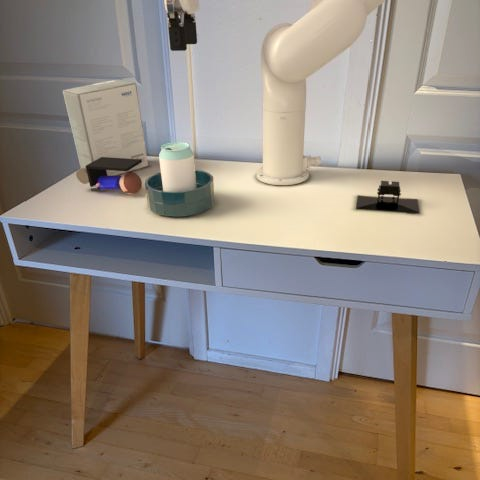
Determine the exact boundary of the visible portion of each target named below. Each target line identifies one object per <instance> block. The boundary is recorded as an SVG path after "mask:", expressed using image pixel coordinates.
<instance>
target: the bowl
mask: <svg viewBox="0 0 480 480" xmlns="http://www.w3.org/2000/svg"><path fill="white" fill-rule="evenodd" d="M195 175H196V187H197V189H193V190H188V191H178V192H170V191H163V185H162V177H161V171H159V172H156V173H153V174H152V175H150V176H148V177H147V178H146V179H145V181H144V188H145V195H146V203H147V207H148V208H149V210H150V211H151V212H153V213H155V214H157V215H161V216H166V217H188V216H193V215H198V214H200V213H203V212H206V211H208V210H209V209H211V208H212V207H213V206H214V205H215V202H216V201H215V200H216V199H215V183H214V176H213V175H212V173H210V172H208V171H205V170H201V169H198V168H197V169H196V168H195Z"/></svg>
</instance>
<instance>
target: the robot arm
mask: <svg viewBox="0 0 480 480" xmlns="http://www.w3.org/2000/svg"><path fill="white" fill-rule="evenodd" d="M384 2H386V0H312V1H311V3H310V5H309V7H308V9H307V13H306V14H304V15H303V16H302V17H300V18H299V19H298V20H296V22H294V23H289V22H286V23H285V22H283V23H282V22H281V23H278V24H277V25H274V26H273V27H272V28H270V29H269V30H268V32H267V33H266V34H265V35H264V38H263V41H262V44H261V50H260V66H261V80H262V81H261V82H262V83H261V84H262V166H261V167H259V168H258V169H257V170H256V172H255V175H256V176H255V177H256V179H257V180H258V181H259V182H261V183H264V184H268V185H273V186H274V185H275V186H293V185H298V184H300V183H303V182H305V181H307V180H308V179H309V177H310V171H309V170H308V169H309V168H310V167H315V166H320V165H321V164H322V162H323V161H322V157H321V156H315V157H312V155H305V154H304V152H305V151H304V149H305V126H306V108H307V78H309V77H310V76H312V75H314V74H315V73H316V72H318V71H319V70H320V69H322V68H323V67H325V65H327V64H329V63H330V62H331V61H332V60H334V59H336V58H337V57H338V56H340V54H343V52H345V51H346V50H347V49H349V48H350V47H351V46H352V45H353V44H354V43H355V42H356V41H357V40H358V39H359V38H360V36H361V35H362V33H363V31H364V30H365V27H366V24H367V19H368V17H367V16H369V15H371V14H372V12H374V11H375V10H376V9H377V8H378V7H379V6H381V5H382V4H383V3H384ZM163 3H164V8H165V12H166V16H167V27H168V29H167V30H168V39H169V49H170V51H171V52H180V51H181V52H185V51H187V49H188V46H187V45H196V44H197V43H198V34H197V22H196V14H195V13H197V12H198V11H199V10H200V0H163Z"/></svg>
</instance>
